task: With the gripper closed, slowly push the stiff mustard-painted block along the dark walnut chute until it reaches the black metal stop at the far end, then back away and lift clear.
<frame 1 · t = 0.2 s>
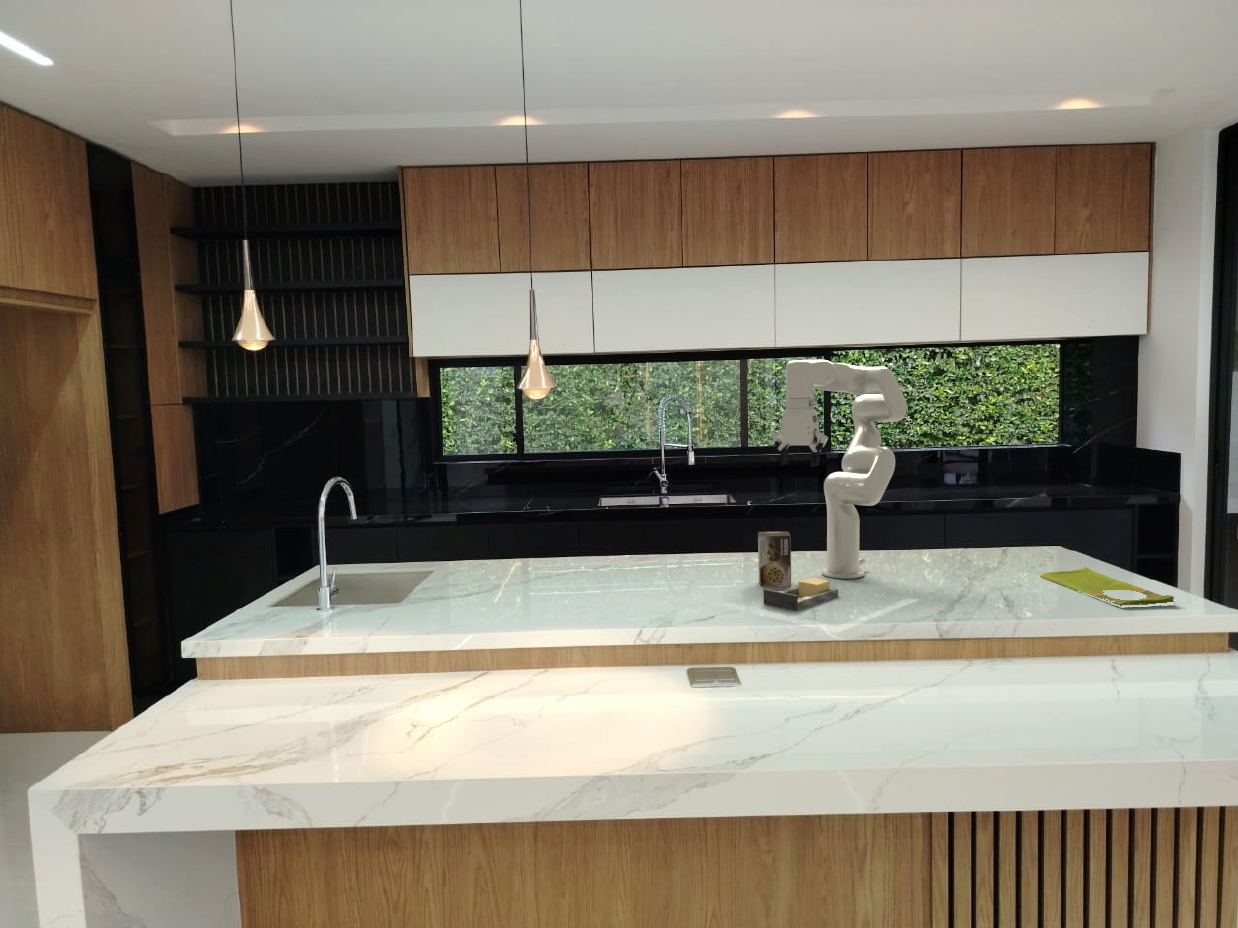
hand: (799, 465, 244), 36 cm above the worktop, tool pointing down, fingers open, 9 cm apart
jammed block: (814, 588, 235), point 3 cm above the worktop, slide at 0.0 cm
coffee box: (774, 588, 250), on the worktop
chute: (801, 604, 231), on the worktop
dish towel: (1102, 593, 239), on the worktop
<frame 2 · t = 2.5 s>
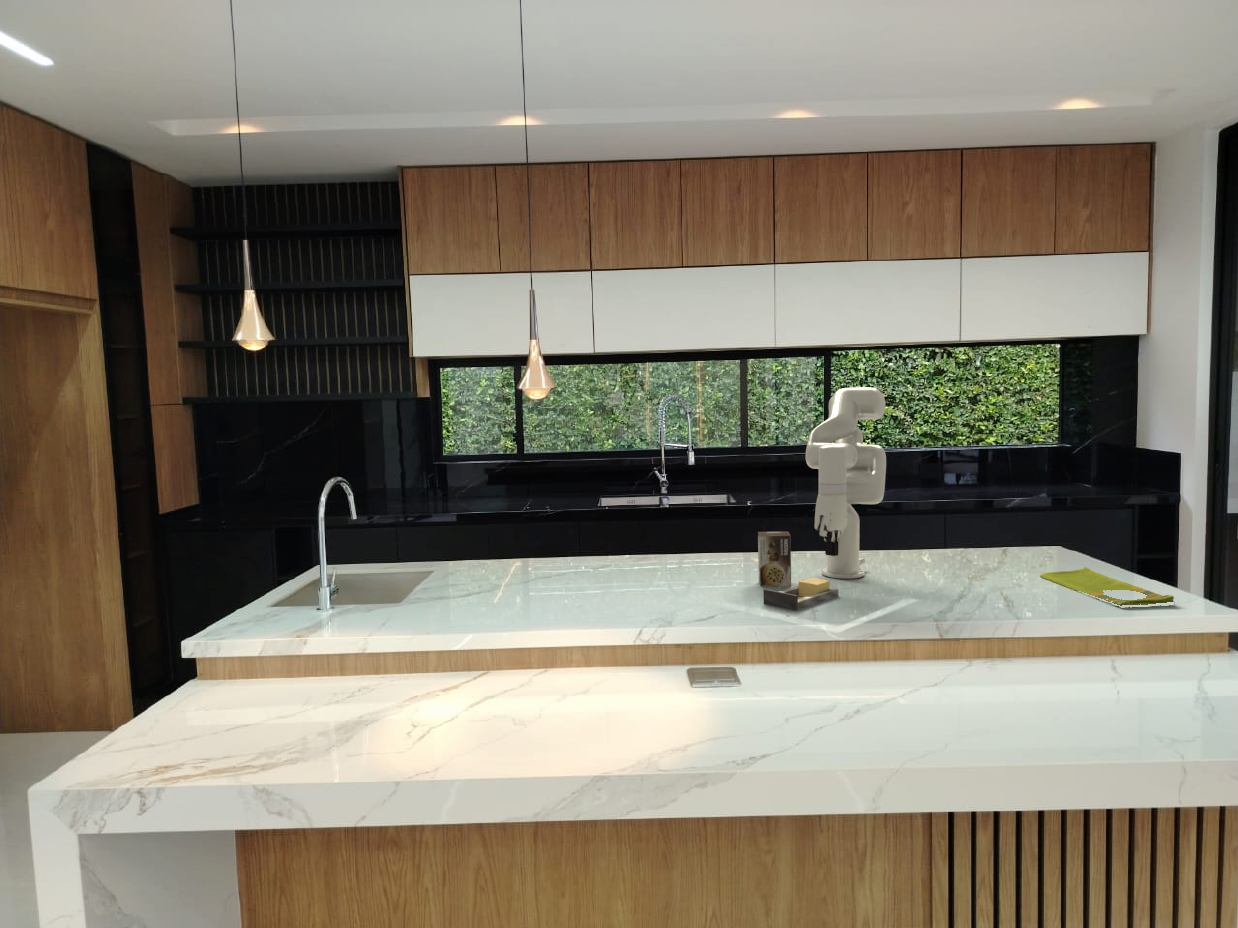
hand: (831, 554, 240), 11 cm above the worktop, tool pointing down, fingers closed
nothing on the worktop moved.
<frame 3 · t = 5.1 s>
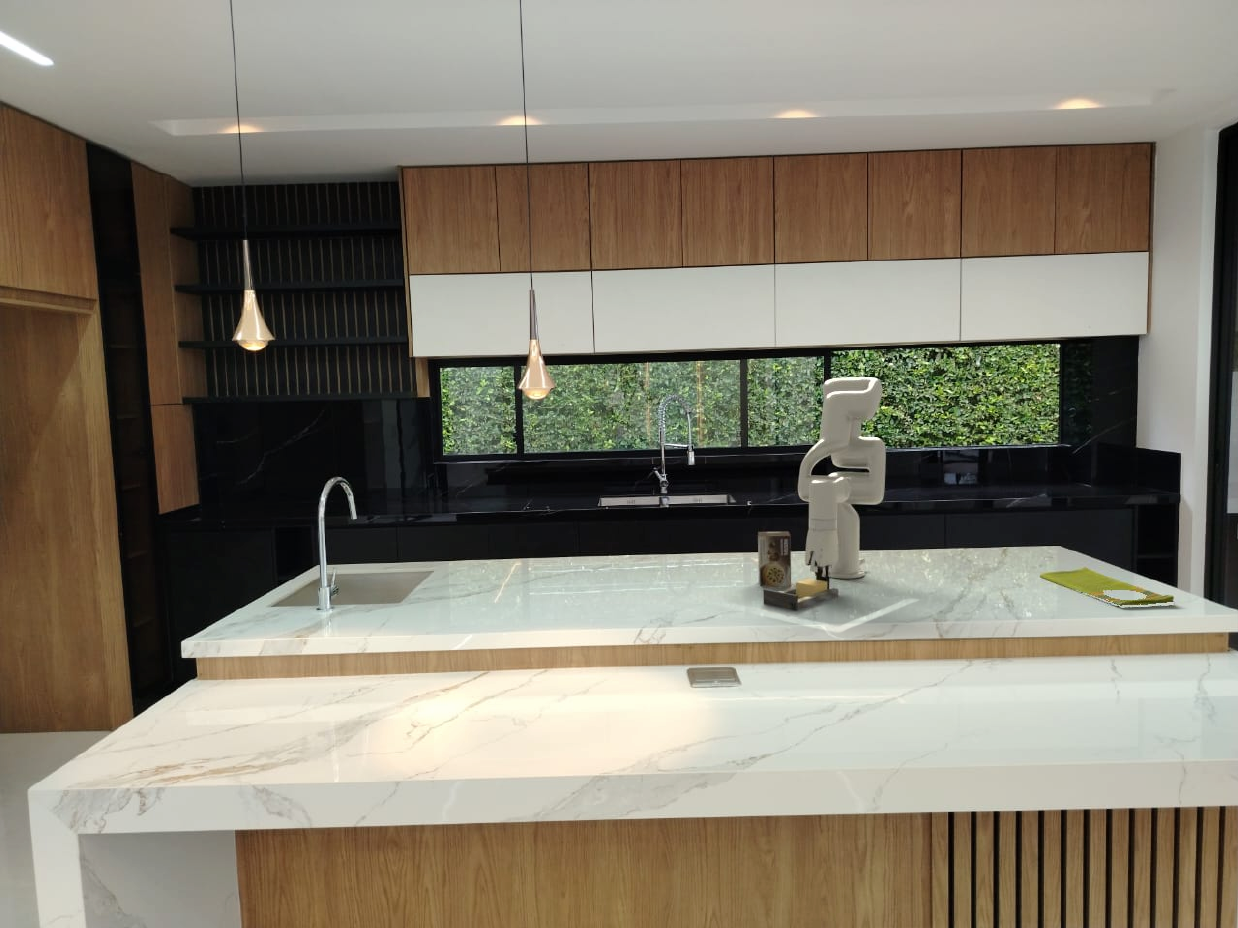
hand: (822, 589, 238), 2 cm above the worktop, tool pointing down, fingers closed
jammed block: (811, 589, 234), point 3 cm above the worktop, slide at 1.2 cm, touching gripper
everything else where it was.
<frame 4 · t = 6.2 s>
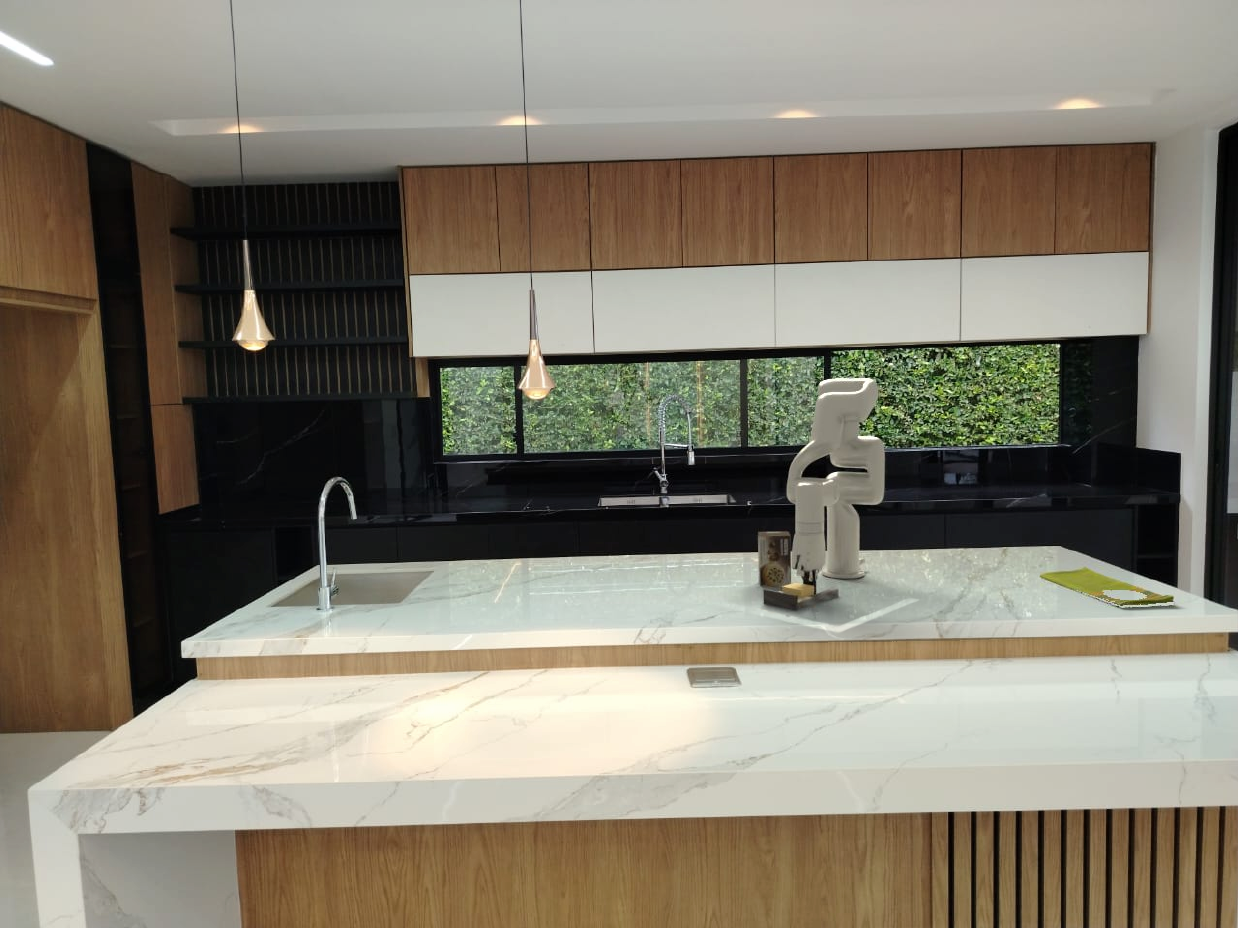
hand: (809, 594, 234), 2 cm above the worktop, tool pointing down, fingers closed
jammed block: (798, 593, 230), point 3 cm above the worktop, slide at 7.5 cm, touching gripper
everything else where it was.
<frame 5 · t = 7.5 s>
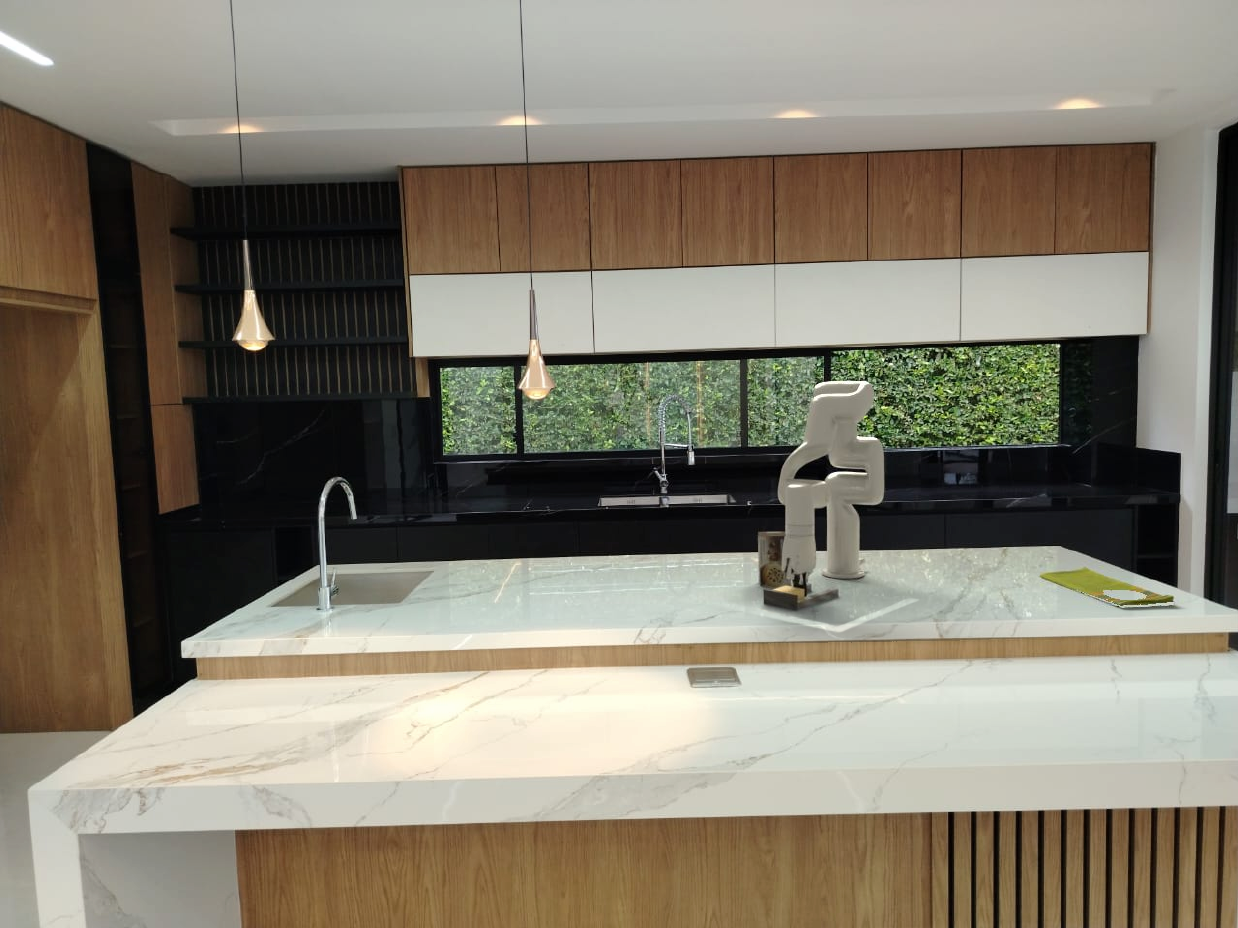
hand: (799, 597, 231), 2 cm above the worktop, tool pointing down, fingers closed
jammed block: (788, 596, 227), point 3 cm above the worktop, slide at 12.1 cm, touching gripper
everything else where it was.
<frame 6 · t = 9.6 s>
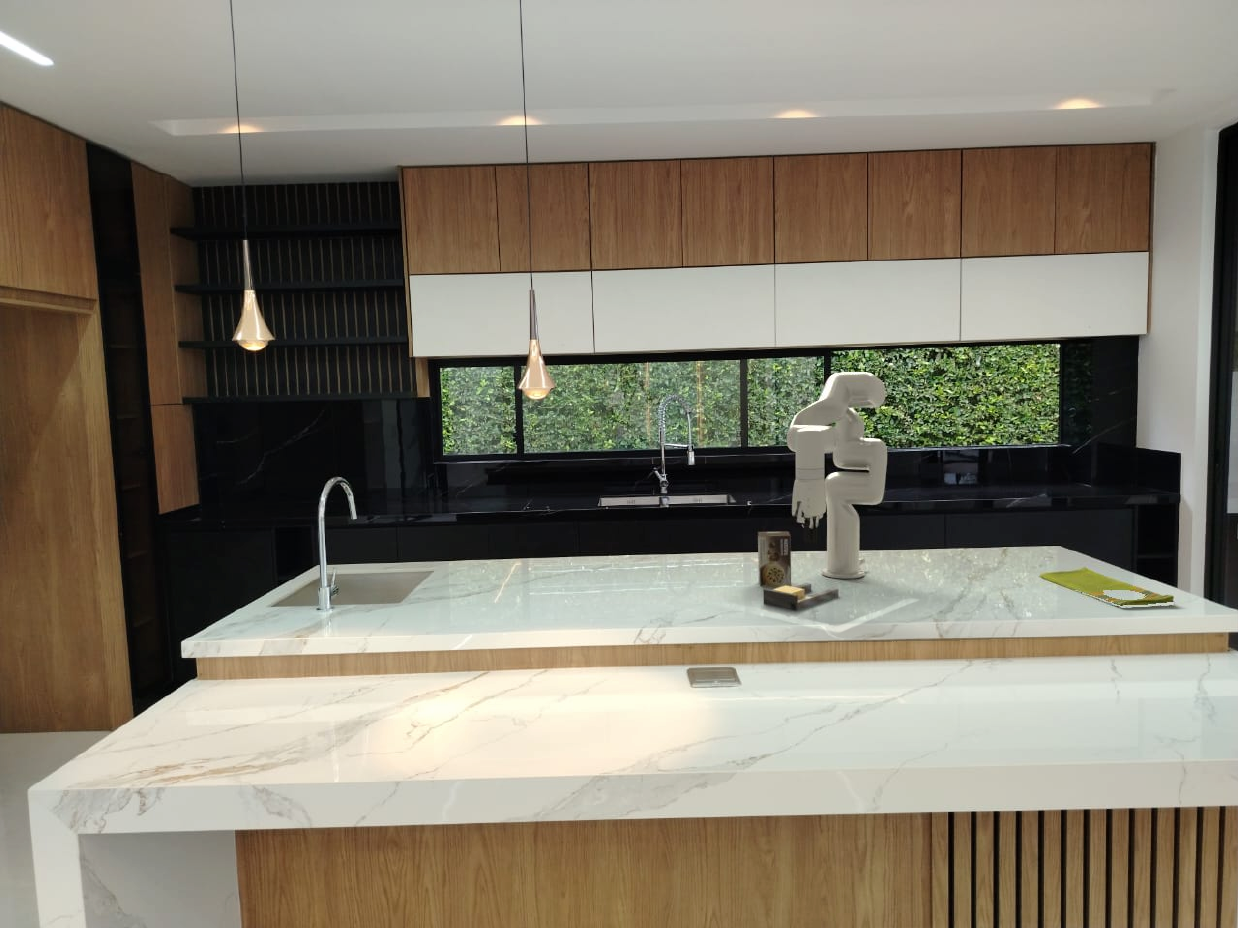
hand: (810, 541, 233), 17 cm above the worktop, tool pointing down, fingers closed
jammed block: (788, 596, 227), point 3 cm above the worktop, slide at 12.0 cm
everything else where it was.
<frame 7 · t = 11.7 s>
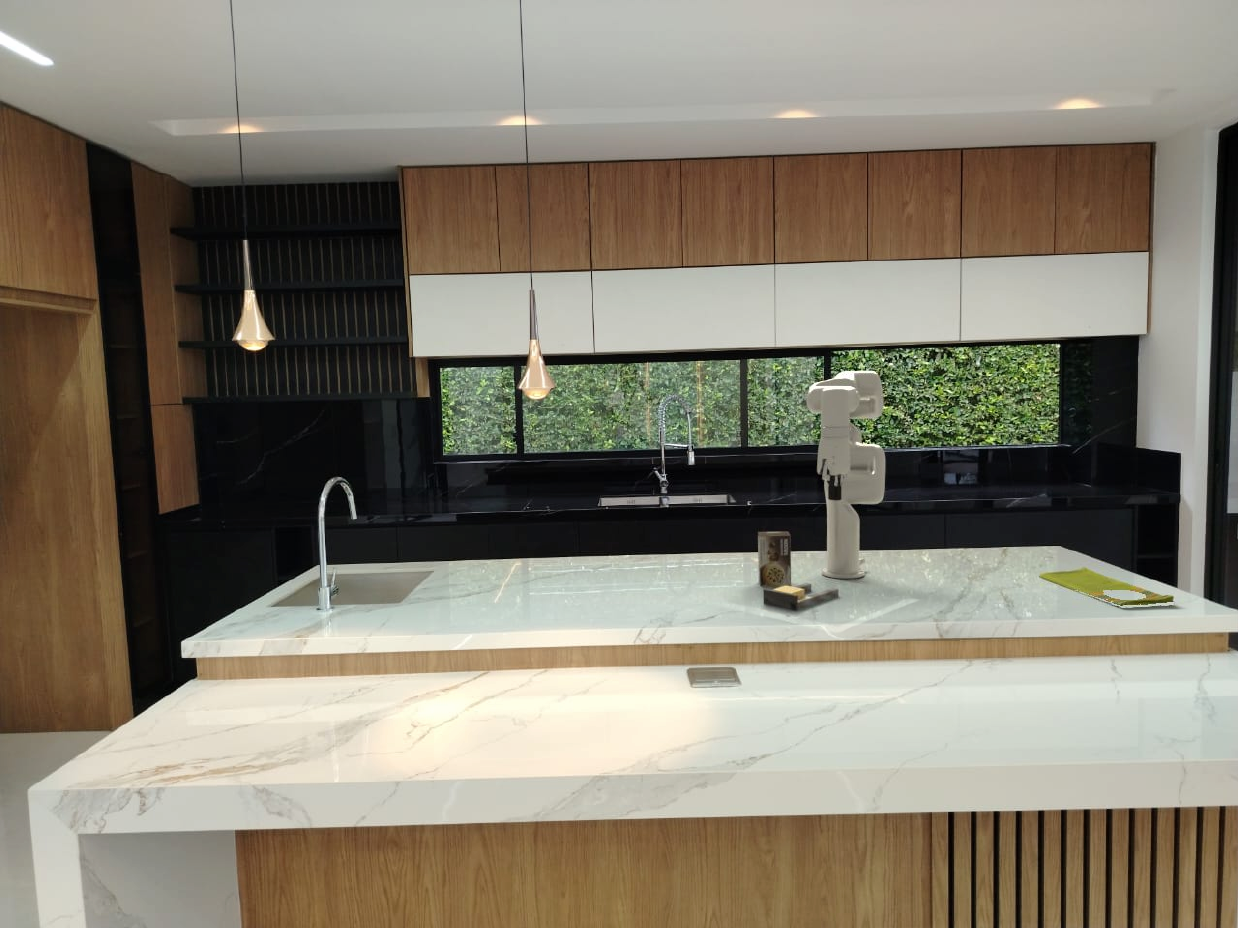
hand: (834, 499, 236), 27 cm above the worktop, tool pointing down, fingers closed
nothing on the worktop moved.
at the end: jammed block slide at 12.0 cm; coffee box moved 0.2 cm from its start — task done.
